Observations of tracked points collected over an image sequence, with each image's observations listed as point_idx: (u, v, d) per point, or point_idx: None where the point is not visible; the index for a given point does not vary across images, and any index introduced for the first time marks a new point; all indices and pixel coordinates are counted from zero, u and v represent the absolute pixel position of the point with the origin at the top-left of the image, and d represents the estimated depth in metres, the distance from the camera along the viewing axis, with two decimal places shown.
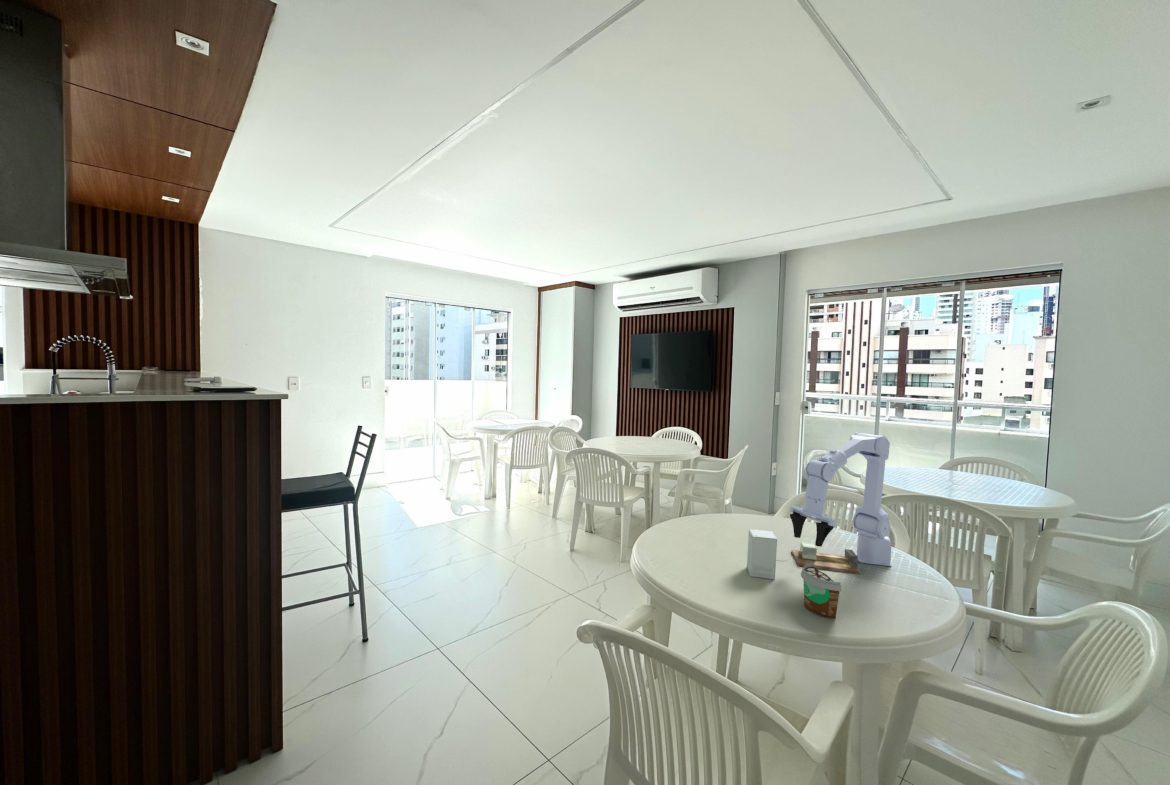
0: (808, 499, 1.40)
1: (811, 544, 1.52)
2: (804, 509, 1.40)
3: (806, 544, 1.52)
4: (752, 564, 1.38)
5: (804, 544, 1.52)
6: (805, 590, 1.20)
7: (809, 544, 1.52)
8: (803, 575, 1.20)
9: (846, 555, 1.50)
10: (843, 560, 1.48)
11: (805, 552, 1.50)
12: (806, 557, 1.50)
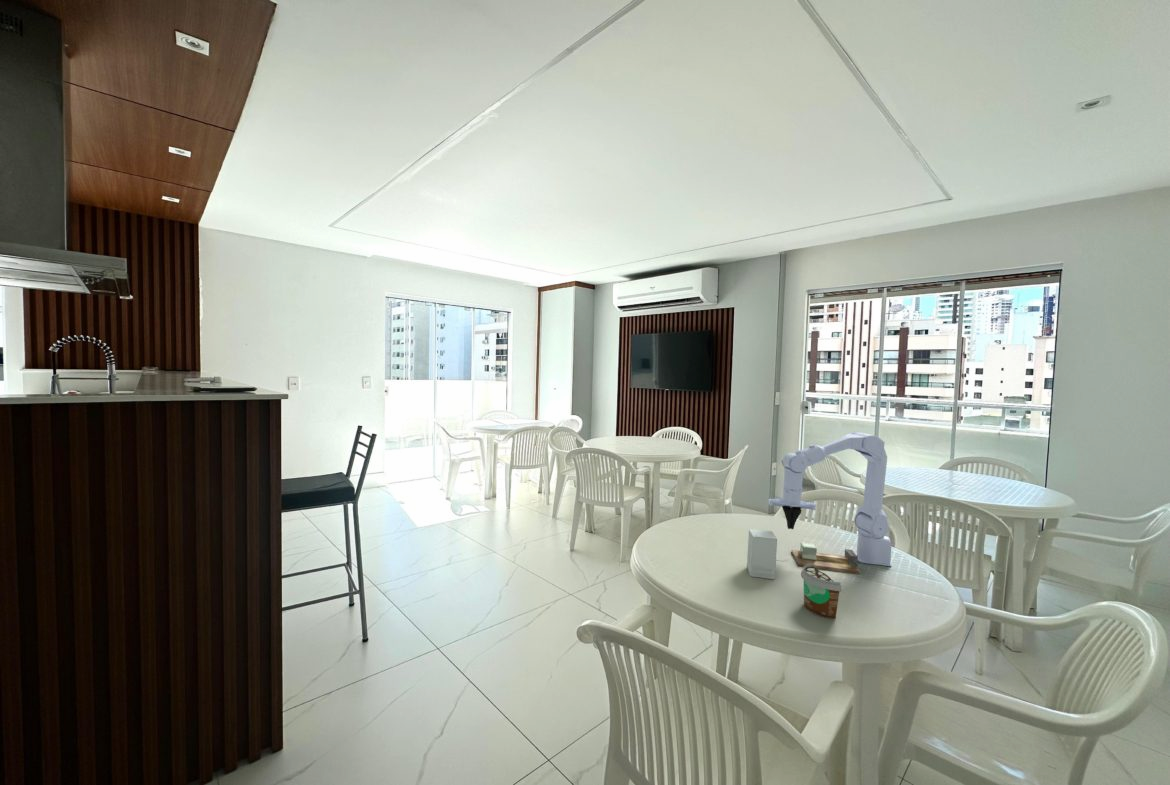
0: (793, 492, 1.50)
1: (811, 544, 1.52)
2: (790, 501, 1.50)
3: (806, 544, 1.52)
4: (752, 564, 1.38)
5: (804, 544, 1.52)
6: (805, 590, 1.20)
7: (809, 544, 1.52)
8: (803, 575, 1.20)
9: (846, 555, 1.50)
10: (843, 560, 1.48)
11: (805, 552, 1.50)
12: (806, 557, 1.50)
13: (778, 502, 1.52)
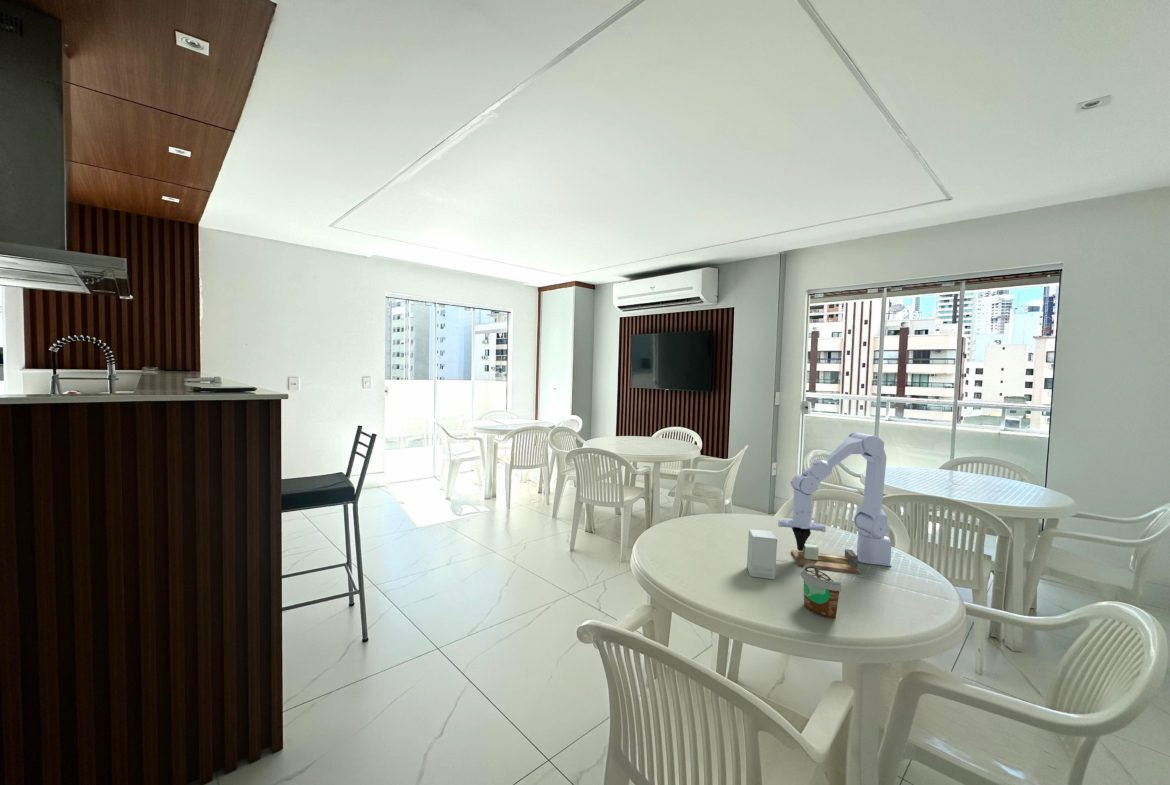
0: (803, 514, 1.49)
1: (813, 544, 1.52)
2: (799, 523, 1.50)
3: (808, 544, 1.52)
4: (752, 564, 1.38)
5: (806, 544, 1.52)
6: (805, 590, 1.20)
7: (811, 544, 1.52)
8: (803, 575, 1.20)
9: (846, 555, 1.50)
10: (843, 560, 1.48)
11: (807, 552, 1.50)
12: (808, 557, 1.50)
13: (788, 524, 1.52)
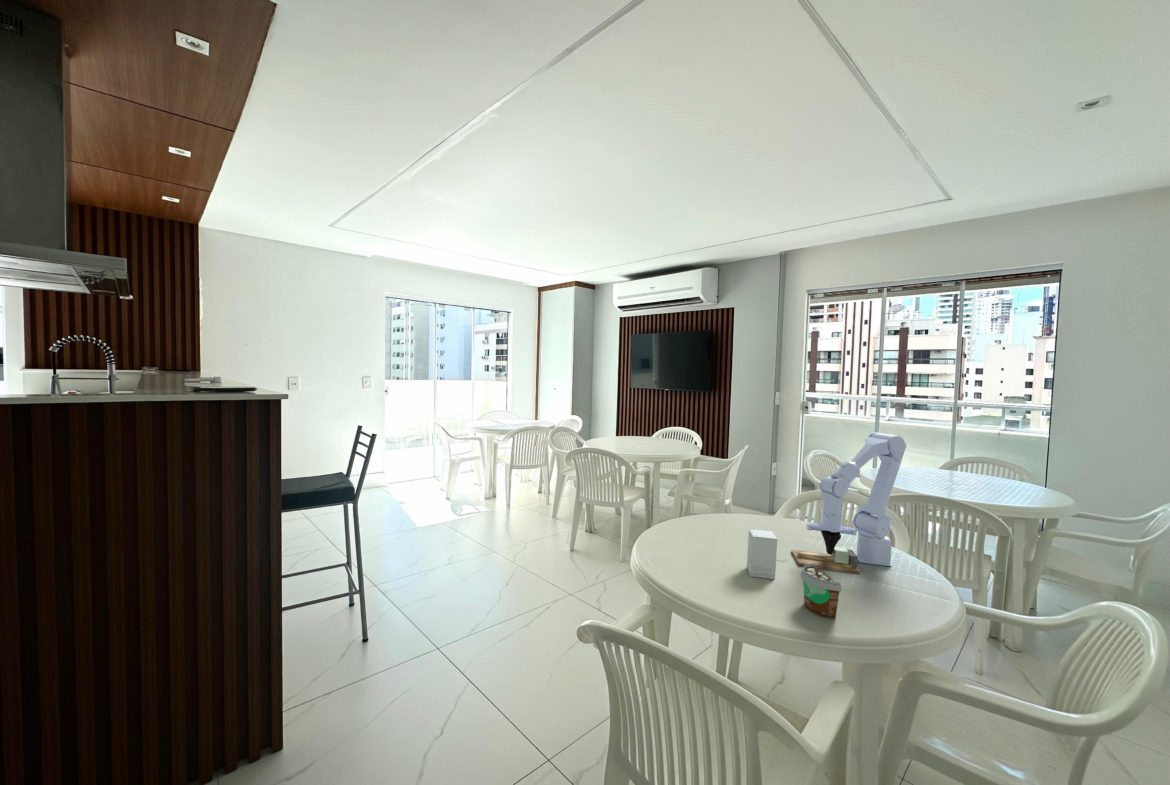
0: (833, 517, 1.47)
1: (843, 548, 1.50)
2: (830, 526, 1.47)
3: (838, 548, 1.50)
4: (752, 564, 1.38)
5: (836, 548, 1.50)
6: (805, 590, 1.20)
7: (841, 548, 1.50)
8: (803, 575, 1.20)
9: None
10: None
11: (837, 556, 1.47)
12: (838, 561, 1.47)
13: (817, 527, 1.49)
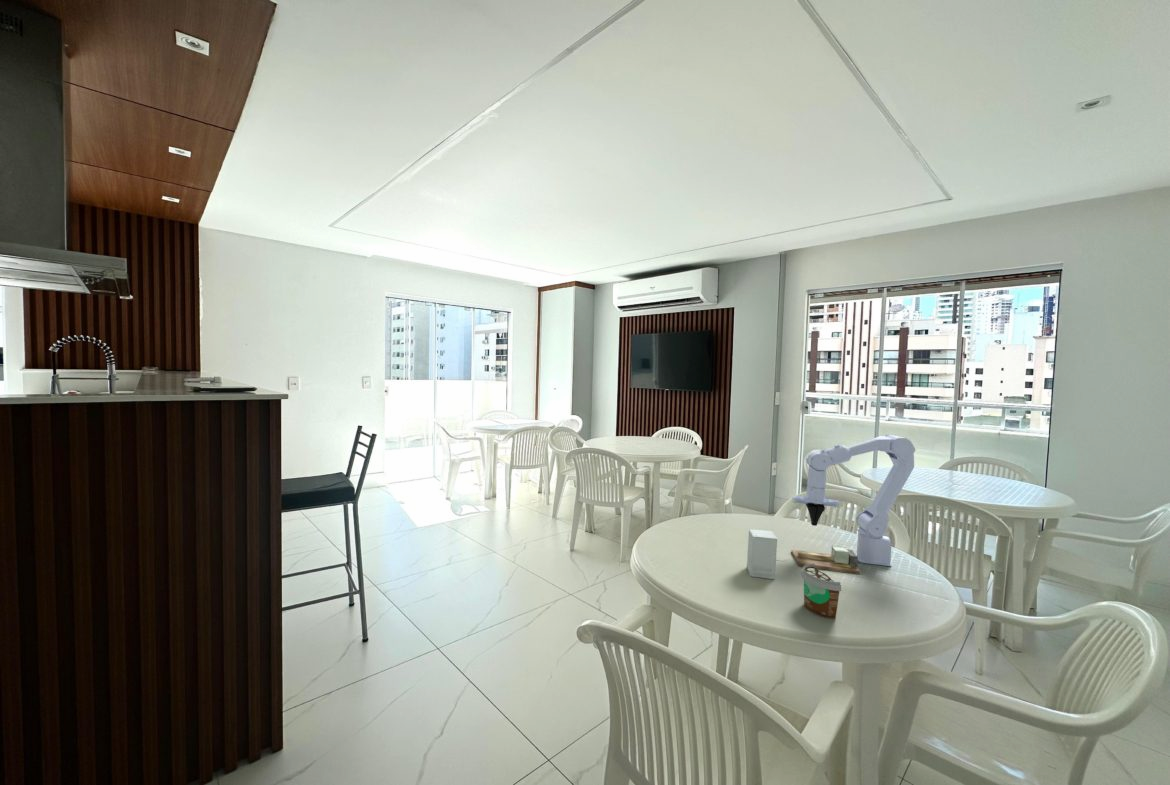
0: (818, 489, 1.54)
1: (843, 548, 1.50)
2: (814, 499, 1.55)
3: (838, 548, 1.50)
4: (752, 564, 1.38)
5: (836, 548, 1.50)
6: (805, 590, 1.20)
7: (841, 548, 1.50)
8: (803, 575, 1.20)
9: None
10: None
11: (837, 556, 1.47)
12: (838, 561, 1.47)
13: (802, 499, 1.57)
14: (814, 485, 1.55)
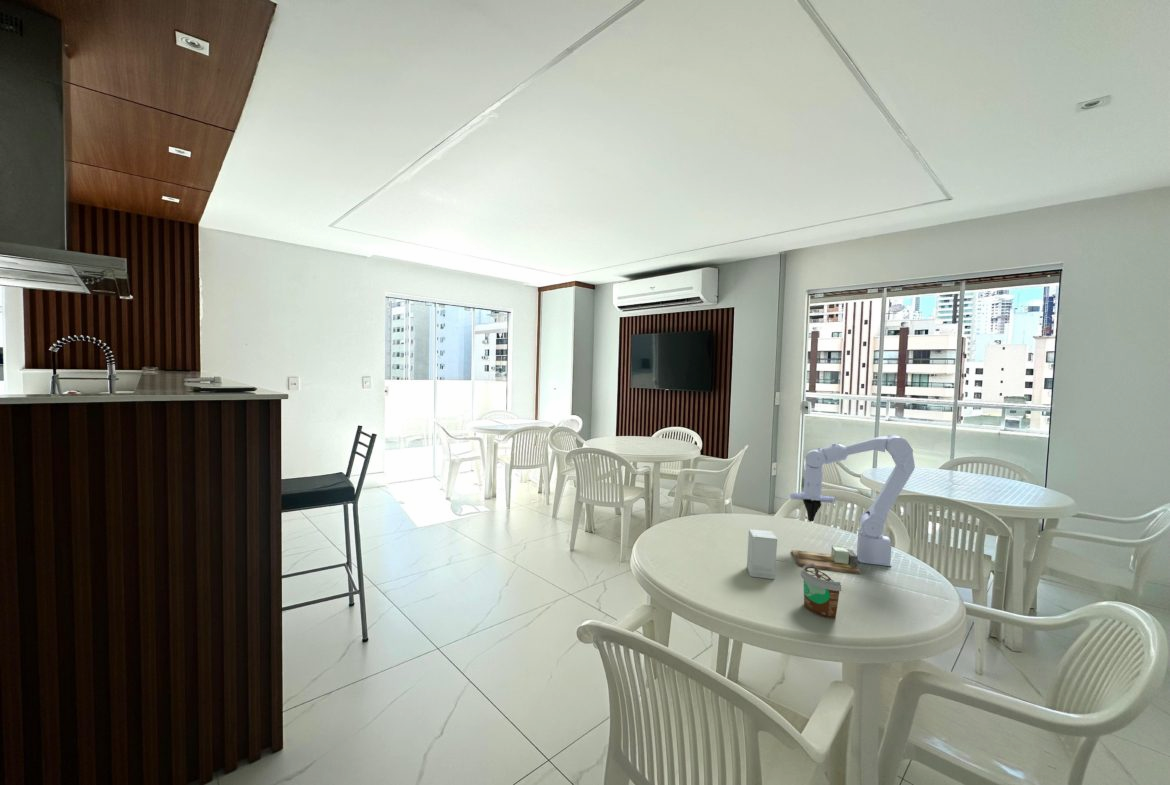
0: (814, 486, 1.59)
1: (843, 548, 1.50)
2: (811, 495, 1.60)
3: (838, 548, 1.50)
4: (752, 564, 1.38)
5: (836, 548, 1.50)
6: (805, 590, 1.20)
7: (841, 548, 1.50)
8: (803, 575, 1.20)
9: None
10: None
11: (837, 556, 1.47)
12: (838, 561, 1.47)
13: (799, 496, 1.62)
14: (809, 481, 1.60)
